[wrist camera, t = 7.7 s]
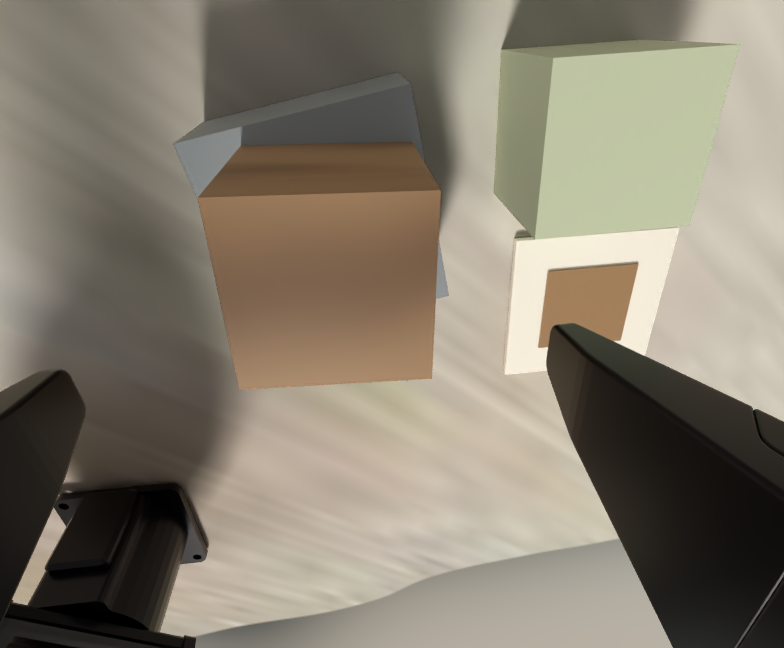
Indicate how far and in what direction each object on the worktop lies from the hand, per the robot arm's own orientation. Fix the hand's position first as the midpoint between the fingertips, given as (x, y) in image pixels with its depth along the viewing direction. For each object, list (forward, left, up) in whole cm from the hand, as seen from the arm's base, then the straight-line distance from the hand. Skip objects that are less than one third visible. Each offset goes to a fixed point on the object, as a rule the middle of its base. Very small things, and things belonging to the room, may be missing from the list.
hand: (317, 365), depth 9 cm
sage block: (+2, -9, -11) cm, 15 cm away
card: (-6, -11, -11) cm, 17 cm away
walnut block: (0, 0, -8) cm, 8 cm away
